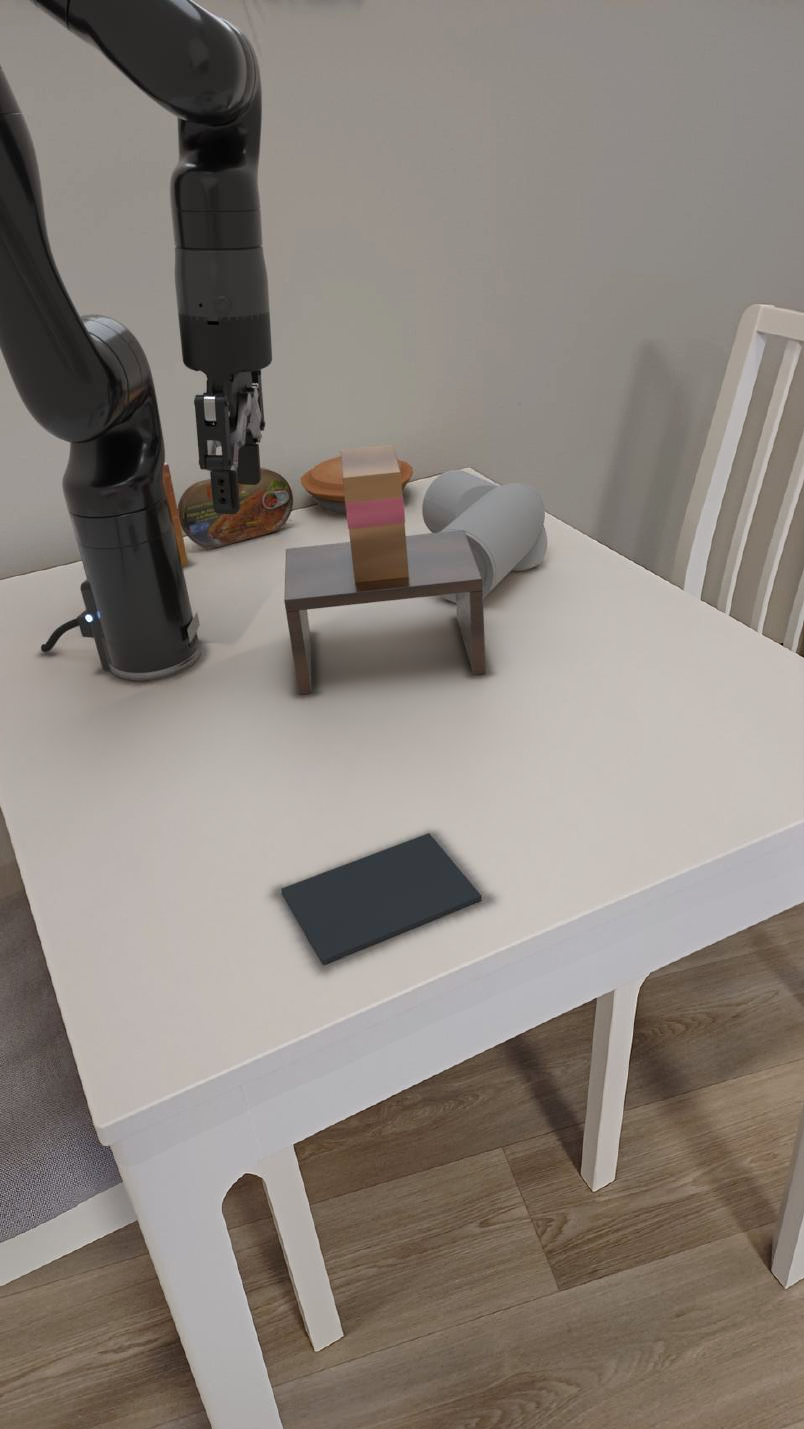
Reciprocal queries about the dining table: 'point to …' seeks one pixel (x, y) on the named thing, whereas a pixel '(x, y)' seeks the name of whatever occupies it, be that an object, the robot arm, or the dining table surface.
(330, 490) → the pie
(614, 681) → the dining table surface
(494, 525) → the bent grey cylinder
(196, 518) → the tin
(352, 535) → the block
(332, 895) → the mat
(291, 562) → the shelf
